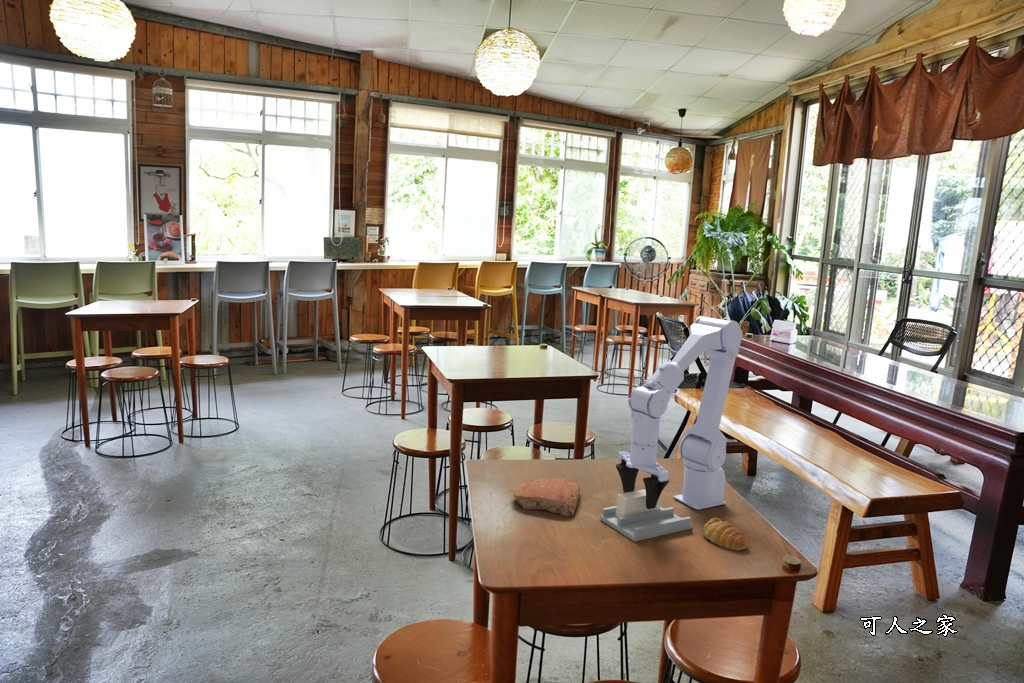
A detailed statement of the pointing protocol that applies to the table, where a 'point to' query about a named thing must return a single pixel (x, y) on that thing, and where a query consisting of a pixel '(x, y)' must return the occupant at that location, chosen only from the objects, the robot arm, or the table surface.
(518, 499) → the ceramic shard
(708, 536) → the pastry
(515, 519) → the table surface
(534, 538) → the table surface
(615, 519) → the grey ridged tray
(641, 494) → the white rectangular block
